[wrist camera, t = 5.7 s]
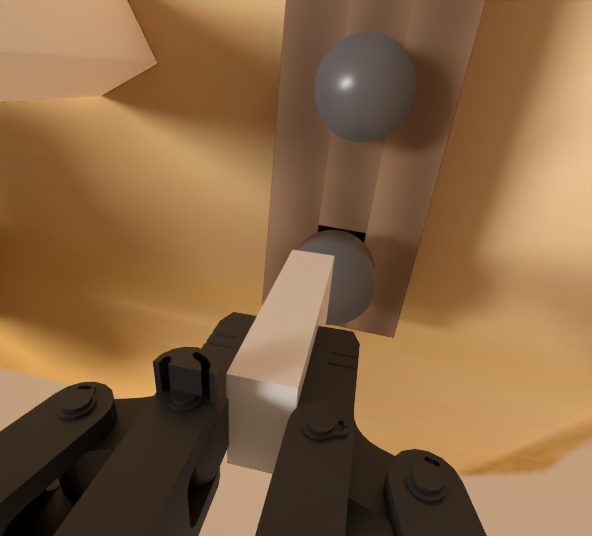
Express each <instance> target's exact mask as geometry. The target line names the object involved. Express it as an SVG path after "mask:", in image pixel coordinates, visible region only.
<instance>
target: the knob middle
mask: <svg viewBox="0 0 592 536" xmlns="http://www.w3.org/2000/svg"><path fill="white" fill-rule="evenodd" d="M415 91H416V74H415V70H414V66H413V63H412V60H411V58H410V56H409V55H408V53H407V52H406V50H405V49H404V48H403V47H402V46H401V45H400V44H399V43H398V42H397V41H396V40H394V39H393V38H391V37H389V36H387V35H384V34H382V33H377V32H360V33H356V34H353V35H350V36H348V37H346V38H344V39H342V40H341V41H339V42H338V43H337V44H336V45H334V46H333V47H332V48H331V49H330V50H329V52H328V53H327V54H326V56H325V57H324V59H323V60H322V62H321V64H320V66H319V69H318V71H317V75H316V79H315V86H314V96H315V103H316V107H317V110H318V113H319V115H320V117H321V119H322V120H323V122H324V123H325V125H326V126H327V127H328V128H329V129H330V130H331V131H332V132H333V133H335V134H336V135H337V136H339V137H341V138H343V139H346V140H349V141H353V142H370V141H375V140H378V139H380V138H382V137H385V136H386V135H388V134H390V133H391V132H392V131H394V130H395V129H396V128H397V127H398V126H399V125H400V124H401V123H402V122H403V120H404V119H405V118H406V116H407V114H408V113H409V111H410V109H411V106H412V104H413V100H414V97H415Z"/></svg>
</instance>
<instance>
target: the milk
mask: <svg viewBox="0 0 592 536" xmlns="http://www.w3.org/2000/svg"><path fill="white" fill-rule="evenodd" d="M156 64H157V61H156V59H155V57H154V55H153V53H152V51H151V49H150V47H149V45H148V42H147V40H146V38H145V36H144V34H143V32H142V30H141V28H140V26H139V24H138V22H137V20H136V17H135V15H134V13H133V11H132V9H131V7H130V5H129V3H128V1H127V0H0V102H4V101H22V100H40V99H57V98H75V97H93V96H102V95H103V94H105V93H107V92H109V91H110V90H112V89H114V88H116V87H117V86H119V85H121V84H123V83H124V82H126V81H128V80H130V79H131V78H133V77H135V76H137V75H138V74H140V73H142V72H144V71H145V70H147V69H149V68H151V67H152V66H154V65H156Z"/></svg>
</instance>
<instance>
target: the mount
mask: <svg viewBox="0 0 592 536" xmlns="http://www.w3.org/2000/svg"><path fill="white" fill-rule="evenodd" d="M485 1H486V0H286V6H285V19H284V32H283V45H282V57H281V70H280V83H279V96H278V108H277V121H276V134H275V147H274V159H273V172H272V185H271V198H270V210H269V223H268V236H267V249H266V261H265V274H264V287H263V300H262V306H263V304H264V302H265V300H266V298H267V296H268V295H269V293H270V291H271V289H272V287H273V285H274V283H275V281H276V280H277V278H278V276H279V274H280V272H281V270H282V268H283V266H284V265H285V263H286V261H287V259H288V257H289V255H290V253H291V251H292V250H298V248H299V246H300V245H301V243H302V242H303V241H304V240H306V239H307V238H308V237H309V236H311V235H313V234H315V233H318V232H321V231H326V226H329V227H335V228H340V229H346V230H352V231H358V232H363V233H365V235H364V240H363V243H364V244H365V245H366V246H367V247H368V249H369V250H370V252H371V254H372V256H373V259H374V263H375V281H374V293H373V298H372V301H371V303H370V305H369V307H368V308H367V309H366V311H365V312H364V313H363V314H362V315H360V316H359V317H358V318H356V319H354V320H352V321H350V322H347V323H344V324H337V325H335V326H339V327H344V328H349V329H354V330H359V331H363V332H368V333H373V334H378V335H382V336H387V337H392V338H394V335H395V331H396V327H397V324H398V320H399V316H400V313H401V309H402V305H403V302H404V298H405V294H406V291H407V287H408V283H409V280H410V276H411V272H412V269H413V265H414V261H415V258H416V254H417V250H418V247H419V243H420V239H421V236H422V232H423V228H424V225H425V221H426V217H427V214H428V210H429V206H430V203H431V199H432V195H433V192H434V188H435V184H436V181H437V177H438V173H439V170H440V166H441V162H442V159H443V155H444V151H445V148H446V144H447V140H448V137H449V133H450V129H451V126H452V122H453V118H454V115H455V111H456V107H457V104H458V100H459V96H460V93H461V89H462V85H463V82H464V78H465V74H466V71H467V67H468V63H469V60H470V56H471V52H472V49H473V45H474V41H475V38H476V34H477V30H478V27H479V23H480V19H481V16H482V12H483V8H484V5H485ZM360 32H377V33H382V34H384V35H387V36H389V37H391V38H393V39H394V40H396V41H397V42H398V43H399V44H400V45H401V46H402V47H403V48H404V49H405V50H406V52H407V53H408V55H409V56H410V58H411V60H412V63H413V66H414V70H415V74H416V91H415V97H414V100H413V104H412V106H411V109H410V111H409V113H408V114H407V116H406V118H405V119H404V120H403V122H402V123H401V124H400V125H399V126H398V127H397V128H396V129H395V130H394V131H392V132H391V133H390V134H388V135H386V136H385V137H382V138H380V139H378V140H375V141H370V142H353V141H349V140H346V139H343V138H341V137H339V136H337V135H336V134H335V133H333V132H332V131H331V130H330V129H329V128H328V127H327V126H326V125H325V123H324V122H323V120H322V119H321V117H320V115H319V113H318V110H317V107H316V103H315V96H314V86H315V79H316V75H317V71H318V69H319V66H320V64H321V62H322V60H323V59H324V57H325V56H326V54H327V53H328V52H329V50H330V49H331V48H332V47H333V46H334V45H336V44H337V43H338V42H339V41H341V40H342V39H344V38H346V37H348V36H350V35H353V34H356V33H360Z"/></svg>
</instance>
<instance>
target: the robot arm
mask: <svg viewBox="0 0 592 536" xmlns="http://www.w3.org/2000/svg"><path fill="white" fill-rule="evenodd" d="M333 264H334V256H332V255H325V254H319V253H312V252H305V251H298V250H292V251H291V253H290V255H289V257H288V259H287V261H286V263H285V265H284V266H283V268H282V270H281V272H280V274H279V276H278V278H277V280H276V281H275V283H274V285H273V287H272V289H271V291H270V293H269V295H268V296H267V298H266V300H265V302H264V304H263V306H262V308H261V310H260V311H259V313H258V315H257V316H253V315H247V314H241V313H236V312H233V313H231V314H230V315H228V316H227V317H225V318H224V319H222V320H220V322H219V323H218V325H217V326H216V328H215V329H214V331H213V334H211V335H210V337H209V338H208V340H207V342H206V343H205V344H204V346H203V347H202V349H200V348H197V347H182V348H176V349H172V350H170V351H168V352H165V353H163V354H161V355H160V356H159V357H158V358H156V359H155V360H154V361H153V366H154V374H155V383H156V391H157V392H156V394H155V395H154V396H150V397H143V398H129V399H114V396H113V392H112V390H111V389H110V388H109V387H108V386H106V385H105V384H101V383H97V382H82V383H78V384H75V385H71V386H68V387H66V388H64V389H62V390H61V391H59V392H57V393H55V394H54V395H52V396H51V397H49V398H48V399H47V400H45V401H44V402H42V403H41V404H39V405H38V406H36V407H35V408H34V409H32V410H31V411H29V412H28V413H26V414H25V415H23V416H22V417H20V418H19V419H18V420H16V421H15V422H13V423H12V424H10V425H9V426H8V427H6V428H5V429H3V430H2V431H1V432H0V536H198V535H199V533H200V530H201V528H202V525H203V522H204V520H205V518H206V515H207V513H208V510H209V508H210V505H211V503H212V500H213V498H214V495H215V493H216V490H217V488H218V484H219V479H220V465H221V462H222V460H223V458H224V455H225V453H226V451H227V463H230V464H233V465H238V466H242V467H247V468H250V469H255V470H259V471H263V472H267V473H272V474H273V475H272V478H271V482H270V486H269V489H268V492H267V496H266V499H265V503H264V507H263V510H262V514H261V517H260V521H259V524H258V528H257V531H256V535H255V536H487V535H486V533H485V531H484V529H483V527H482V525H481V522H480V520H479V518H478V515H477V513H476V511H475V509H474V506H473V504H472V502H471V500H470V497H469V495H468V493H467V491H466V488H465V486H464V484H463V482H462V480H461V479H460V477H459V476H458V474H457V473H456V471H455V469H454V468H452V467H451V466H450V465H449V464H448V463H447V462H446V461H445V460H443V459H442V458H440V457H438V456H436V455H434V454H432V453H430V452H428V451H423V450H417V449H411V450H406V451H402V452H400V453H399V454H397V455H396V456H394V455H392V454H390V453H388V452H386V451H384V450H382V449H380V448H379V447H377V446H375V445H374V444H372V443H371V442H369V441H368V440H367V439H366V438H365V437H364V436H363V435H362V433H361V432H360V431H359V429H358V428H357V425H356V423H355V420H354V403H355V391H356V380H357V368H358V357H359V346H360V344H359V342H358V340H357V338H356V336H355V334H354V332H351V331H346V330H340V329H334V328H328V327H325V324H326V319H327V311H328V303H329V296H330V288H331V280H332V272H333Z"/></svg>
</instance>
